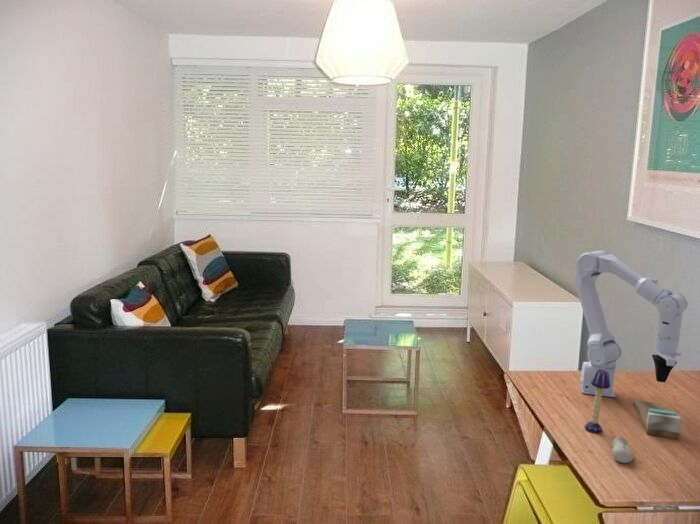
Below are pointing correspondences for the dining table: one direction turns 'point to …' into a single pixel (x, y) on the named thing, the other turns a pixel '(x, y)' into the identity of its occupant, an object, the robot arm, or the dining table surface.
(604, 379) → the toy lamp
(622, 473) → the dining table surface
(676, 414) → the sliding jaw
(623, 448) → the pale two-lobed sculpture
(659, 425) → the clamp board
